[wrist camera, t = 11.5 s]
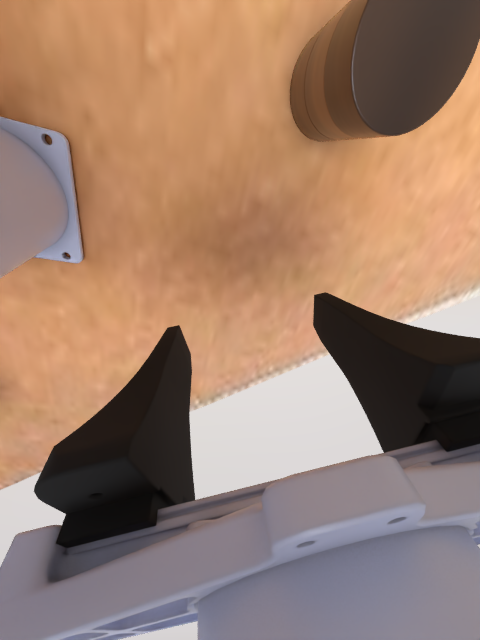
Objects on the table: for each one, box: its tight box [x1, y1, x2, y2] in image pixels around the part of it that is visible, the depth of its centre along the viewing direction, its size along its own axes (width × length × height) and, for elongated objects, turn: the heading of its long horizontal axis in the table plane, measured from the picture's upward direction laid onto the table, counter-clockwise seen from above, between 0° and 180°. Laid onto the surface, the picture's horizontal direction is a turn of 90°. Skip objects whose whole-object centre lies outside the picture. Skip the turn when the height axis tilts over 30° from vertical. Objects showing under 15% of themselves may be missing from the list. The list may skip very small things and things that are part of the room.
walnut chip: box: [324, 0, 480, 138], centre depth 10 cm, size 5×5×2 cm
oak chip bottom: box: [290, 22, 335, 142], centre depth 14 cm, size 5×5×2 cm
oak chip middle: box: [305, 0, 358, 140], centre depth 12 cm, size 5×5×2 cm
